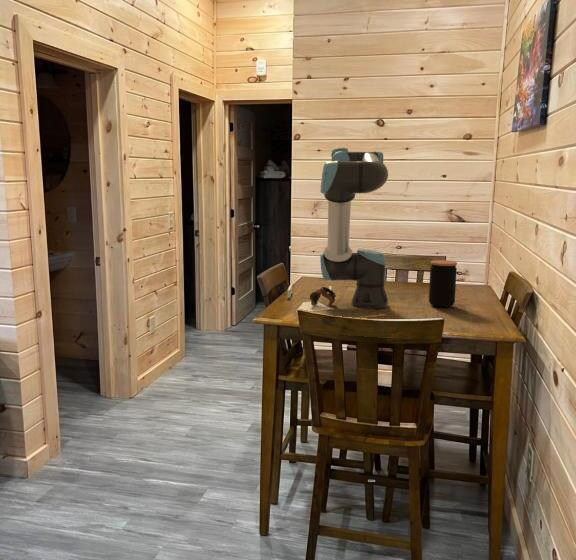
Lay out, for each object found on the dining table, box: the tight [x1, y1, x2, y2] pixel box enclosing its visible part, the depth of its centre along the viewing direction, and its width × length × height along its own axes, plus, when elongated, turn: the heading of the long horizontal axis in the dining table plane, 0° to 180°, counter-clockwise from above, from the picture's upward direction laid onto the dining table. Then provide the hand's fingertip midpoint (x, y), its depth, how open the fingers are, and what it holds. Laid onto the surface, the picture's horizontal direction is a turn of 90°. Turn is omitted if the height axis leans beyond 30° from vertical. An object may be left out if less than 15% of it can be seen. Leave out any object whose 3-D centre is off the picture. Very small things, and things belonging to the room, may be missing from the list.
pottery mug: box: [309, 286, 337, 307], centre depth 228 cm, size 12×9×8 cm
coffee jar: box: [428, 259, 458, 308], centre depth 229 cm, size 11×11×18 cm
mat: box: [296, 301, 334, 313], centre depth 225 cm, size 16×16×1 cm
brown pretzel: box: [287, 284, 332, 299], centre depth 245 cm, size 12×19×4 cm, turn 85°
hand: (338, 234), depth 253 cm, fingers closed
